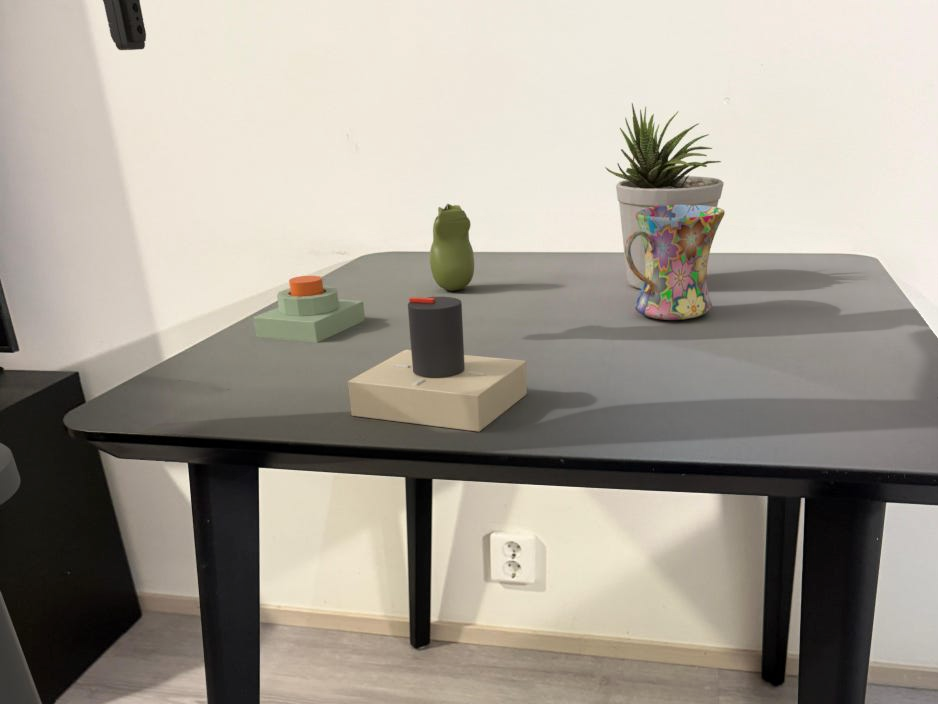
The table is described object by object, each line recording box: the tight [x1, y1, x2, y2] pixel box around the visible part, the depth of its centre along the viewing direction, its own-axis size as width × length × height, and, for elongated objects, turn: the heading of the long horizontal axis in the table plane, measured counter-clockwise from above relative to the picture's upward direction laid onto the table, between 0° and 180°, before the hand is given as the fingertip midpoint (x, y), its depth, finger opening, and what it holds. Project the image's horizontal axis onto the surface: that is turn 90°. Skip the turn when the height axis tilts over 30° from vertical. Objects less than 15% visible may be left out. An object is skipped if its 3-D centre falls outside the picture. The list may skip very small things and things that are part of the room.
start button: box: [288, 275, 324, 296], centre depth 101 cm, size 4×4×2 cm
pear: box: [429, 203, 475, 292], centre depth 115 cm, size 6×5×10 cm
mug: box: [624, 205, 725, 321], centre depth 100 cm, size 12×9×11 cm
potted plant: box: [604, 102, 725, 290], centre depth 111 cm, size 13×14×20 cm
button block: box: [252, 285, 366, 343], centre depth 103 cm, size 10×8×4 cm
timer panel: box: [347, 349, 528, 433], centre depth 79 cm, size 10×12×3 cm
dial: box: [407, 296, 465, 378], centre depth 77 cm, size 4×4×6 cm
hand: (131, 49), depth 83 cm, fingers closed
